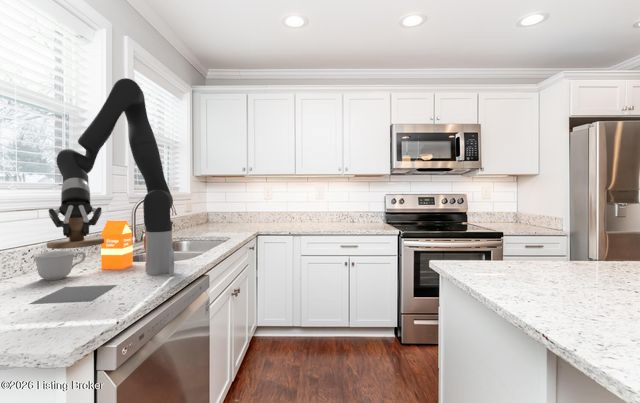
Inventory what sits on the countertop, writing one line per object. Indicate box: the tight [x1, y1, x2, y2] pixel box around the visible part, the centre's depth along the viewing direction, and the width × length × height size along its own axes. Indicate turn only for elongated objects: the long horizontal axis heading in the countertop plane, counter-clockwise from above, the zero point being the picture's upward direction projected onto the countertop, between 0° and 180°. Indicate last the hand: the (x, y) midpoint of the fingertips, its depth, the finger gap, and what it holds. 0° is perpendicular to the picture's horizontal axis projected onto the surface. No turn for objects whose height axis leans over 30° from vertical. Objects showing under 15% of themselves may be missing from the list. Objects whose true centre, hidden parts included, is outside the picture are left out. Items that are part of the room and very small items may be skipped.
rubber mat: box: [29, 284, 118, 305], centre depth 98 cm, size 16×16×1 cm
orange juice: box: [100, 220, 134, 270], centre depth 136 cm, size 8×9×20 cm
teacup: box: [32, 250, 86, 281], centre depth 116 cm, size 12×15×10 cm
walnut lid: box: [46, 218, 104, 250], centre depth 97 cm, size 14×14×8 cm
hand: (76, 234), depth 95 cm, fingers closed on walnut lid, 3 cm apart
